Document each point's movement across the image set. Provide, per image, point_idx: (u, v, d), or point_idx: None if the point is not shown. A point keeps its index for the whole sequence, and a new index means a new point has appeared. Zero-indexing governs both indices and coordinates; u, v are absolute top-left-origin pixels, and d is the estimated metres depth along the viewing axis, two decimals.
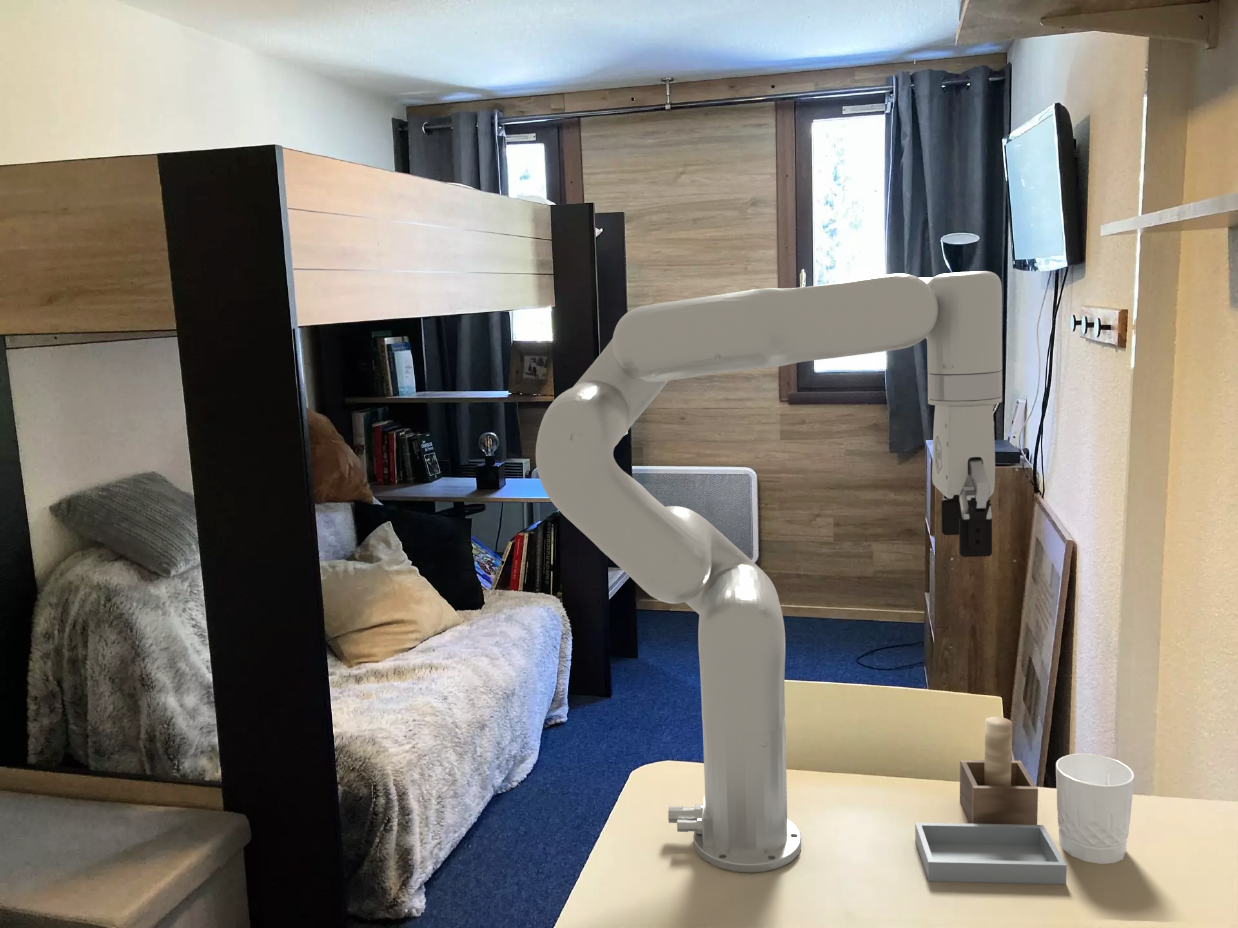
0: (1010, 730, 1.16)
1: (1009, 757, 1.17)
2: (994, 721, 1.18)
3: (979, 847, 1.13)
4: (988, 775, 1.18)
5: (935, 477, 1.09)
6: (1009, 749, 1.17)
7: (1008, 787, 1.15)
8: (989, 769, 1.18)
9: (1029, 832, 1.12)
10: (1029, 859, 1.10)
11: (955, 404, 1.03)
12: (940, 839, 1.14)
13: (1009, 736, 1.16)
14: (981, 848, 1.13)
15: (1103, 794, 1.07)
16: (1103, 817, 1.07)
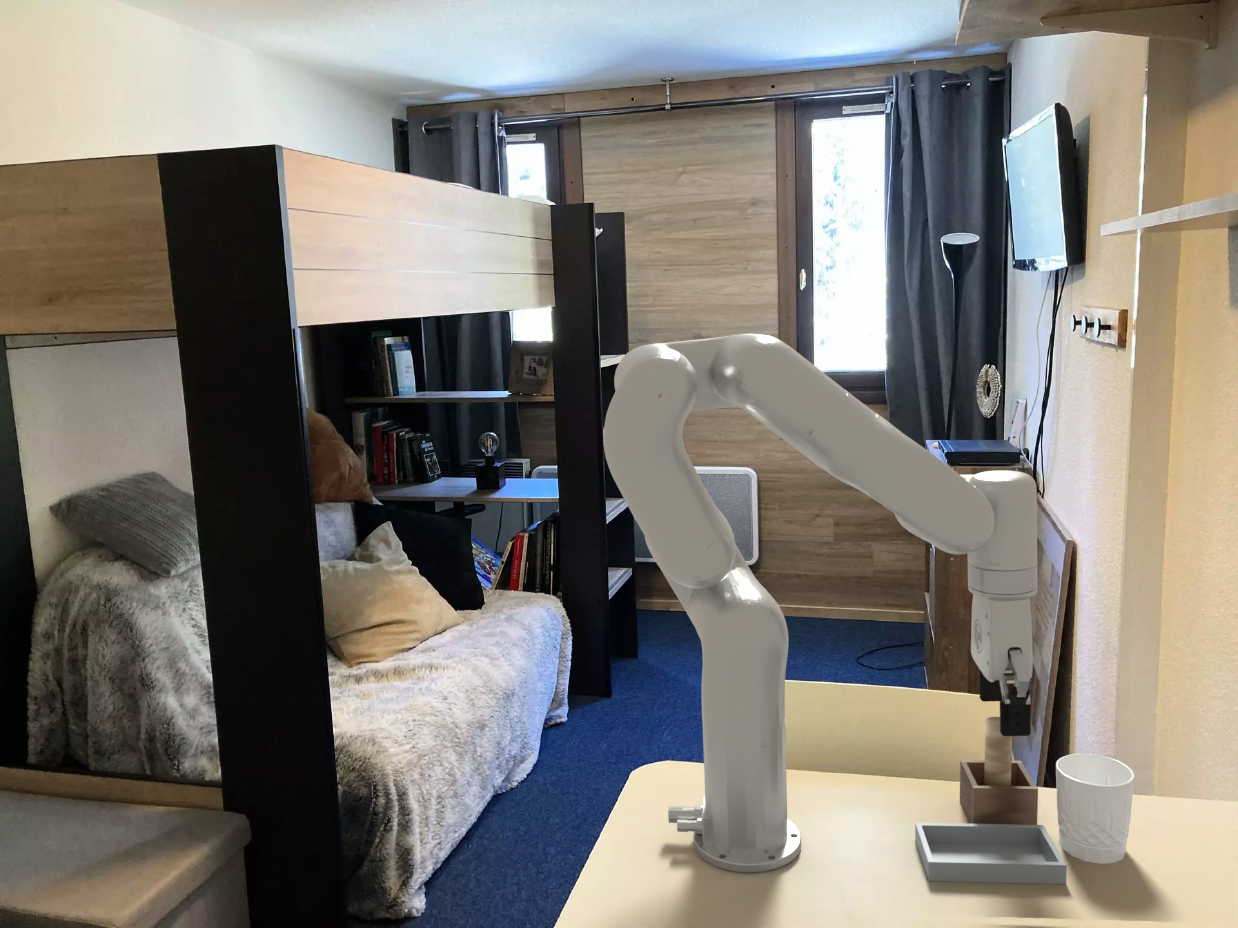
0: None
1: (1009, 757, 1.17)
2: (994, 721, 1.18)
3: (979, 847, 1.13)
4: (988, 775, 1.18)
5: (975, 653, 1.18)
6: (1009, 749, 1.17)
7: (1008, 787, 1.15)
8: (989, 769, 1.18)
9: (1029, 832, 1.12)
10: (1029, 859, 1.10)
11: (995, 597, 1.12)
12: (940, 839, 1.14)
13: (1009, 736, 1.16)
14: (981, 848, 1.13)
15: (1103, 794, 1.07)
16: (1103, 817, 1.07)
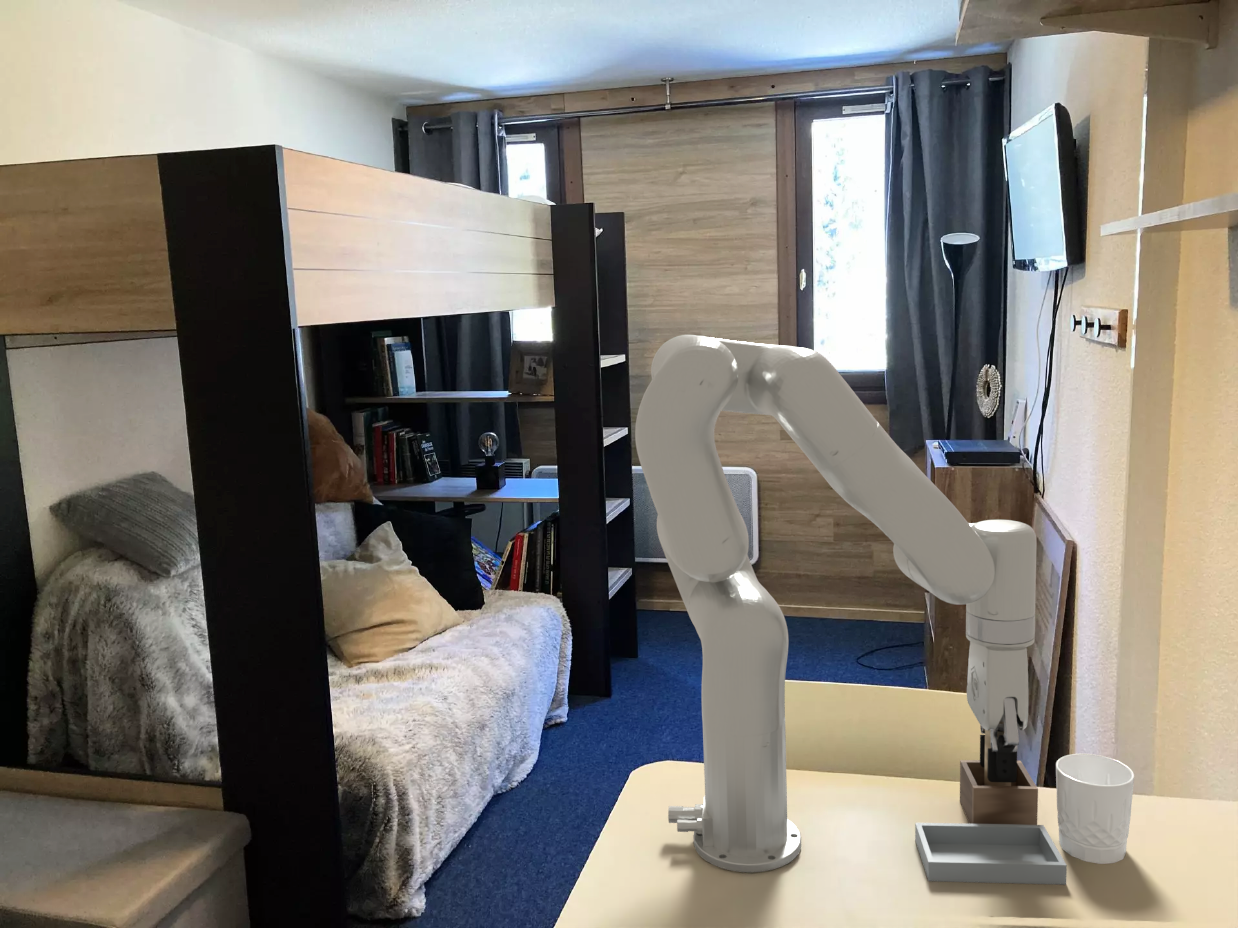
0: None
1: None
2: None
3: (979, 847, 1.13)
4: None
5: (970, 700, 1.19)
6: None
7: (1008, 787, 1.15)
8: None
9: (1029, 832, 1.12)
10: (1029, 859, 1.10)
11: (992, 646, 1.13)
12: (940, 839, 1.14)
13: None
14: (981, 848, 1.13)
15: (1103, 794, 1.07)
16: (1103, 817, 1.07)
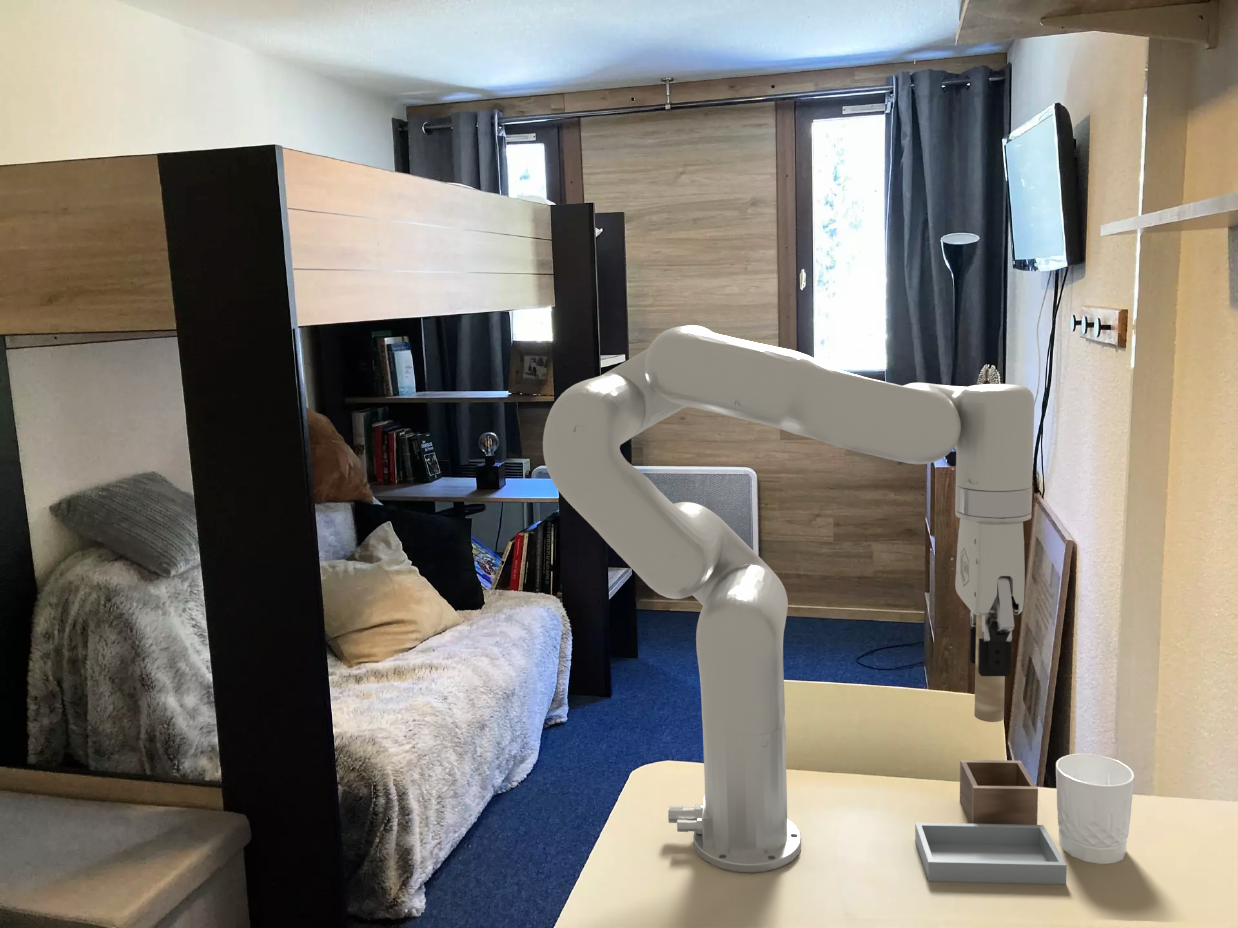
0: None
1: None
2: None
3: (979, 847, 1.13)
4: None
5: (960, 587, 1.08)
6: None
7: (1008, 787, 1.15)
8: None
9: (1029, 832, 1.12)
10: (1029, 859, 1.10)
11: (985, 520, 1.01)
12: (940, 839, 1.14)
13: None
14: (981, 848, 1.13)
15: (1103, 794, 1.07)
16: (1103, 817, 1.07)
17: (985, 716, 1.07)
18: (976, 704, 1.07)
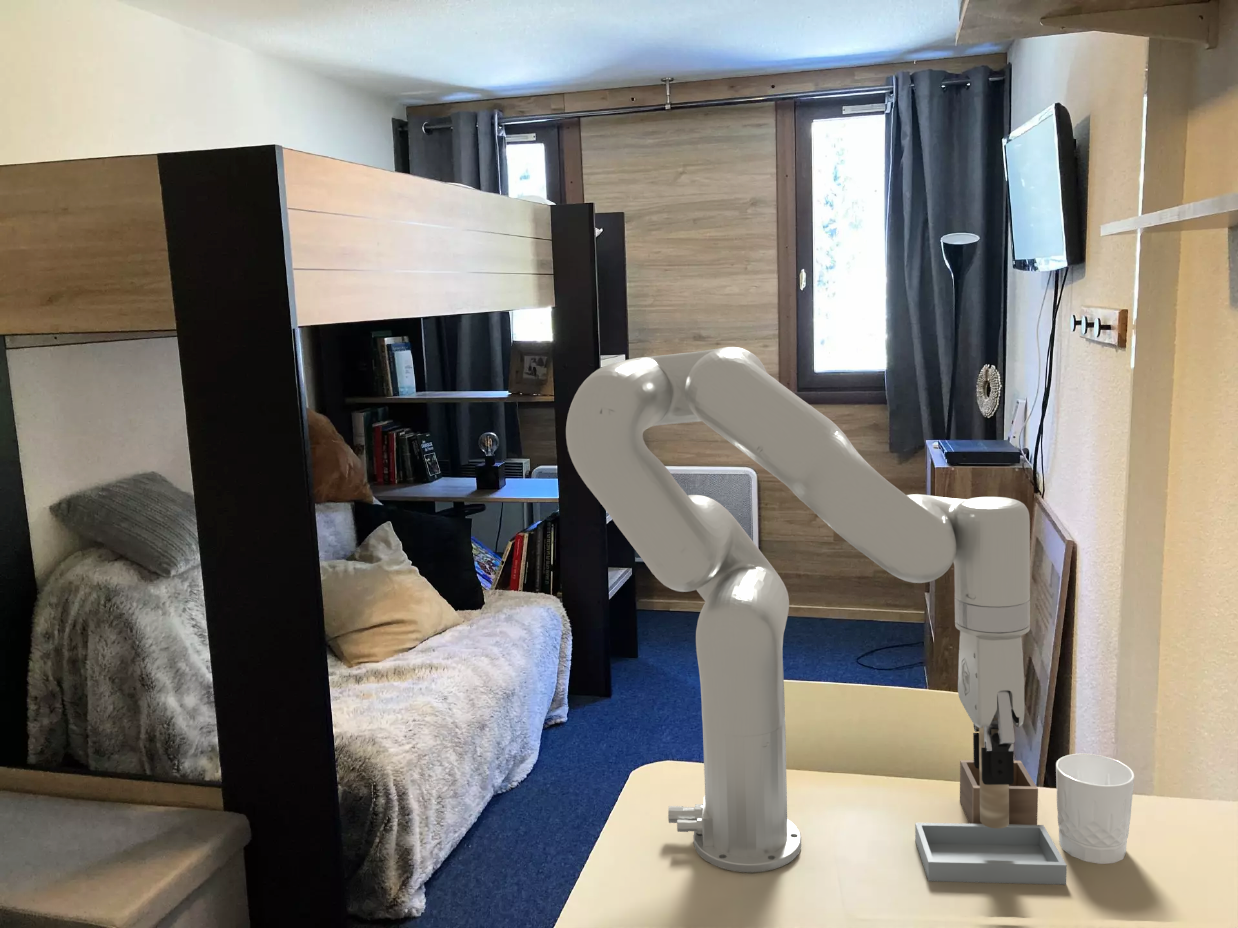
0: None
1: None
2: None
3: (979, 847, 1.13)
4: None
5: (962, 695, 1.09)
6: None
7: None
8: None
9: (1029, 832, 1.12)
10: (1029, 859, 1.10)
11: (984, 635, 1.02)
12: (940, 839, 1.14)
13: None
14: (981, 848, 1.13)
15: (1103, 794, 1.07)
16: (1103, 817, 1.07)
17: (990, 822, 1.08)
18: (981, 810, 1.09)
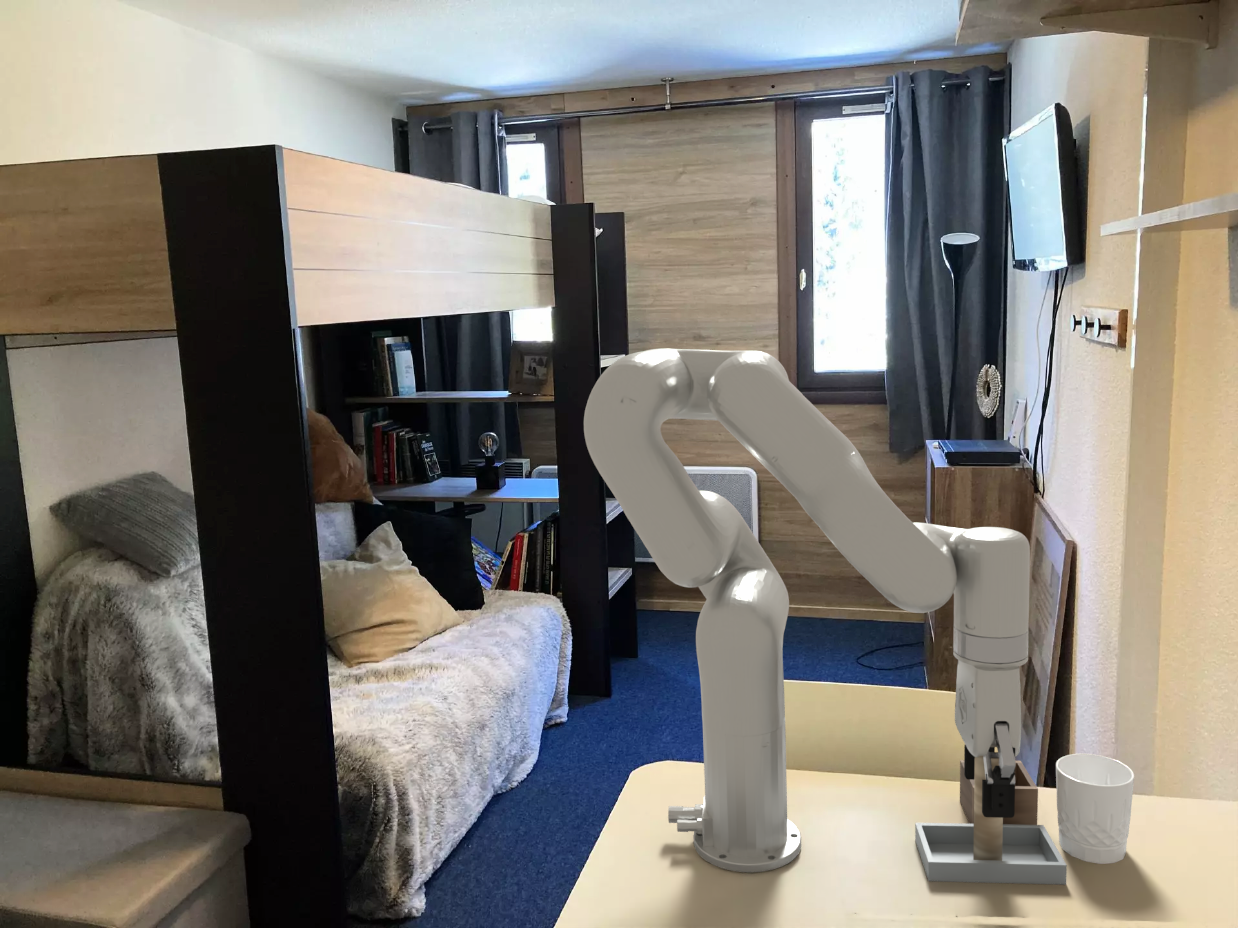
0: None
1: None
2: None
3: None
4: (978, 817, 1.08)
5: (959, 722, 1.10)
6: None
7: None
8: (979, 811, 1.08)
9: (1029, 832, 1.12)
10: (1029, 859, 1.10)
11: (982, 665, 1.03)
12: (940, 839, 1.14)
13: None
14: None
15: (1103, 794, 1.07)
16: (1103, 817, 1.07)
17: None
18: (975, 849, 1.10)
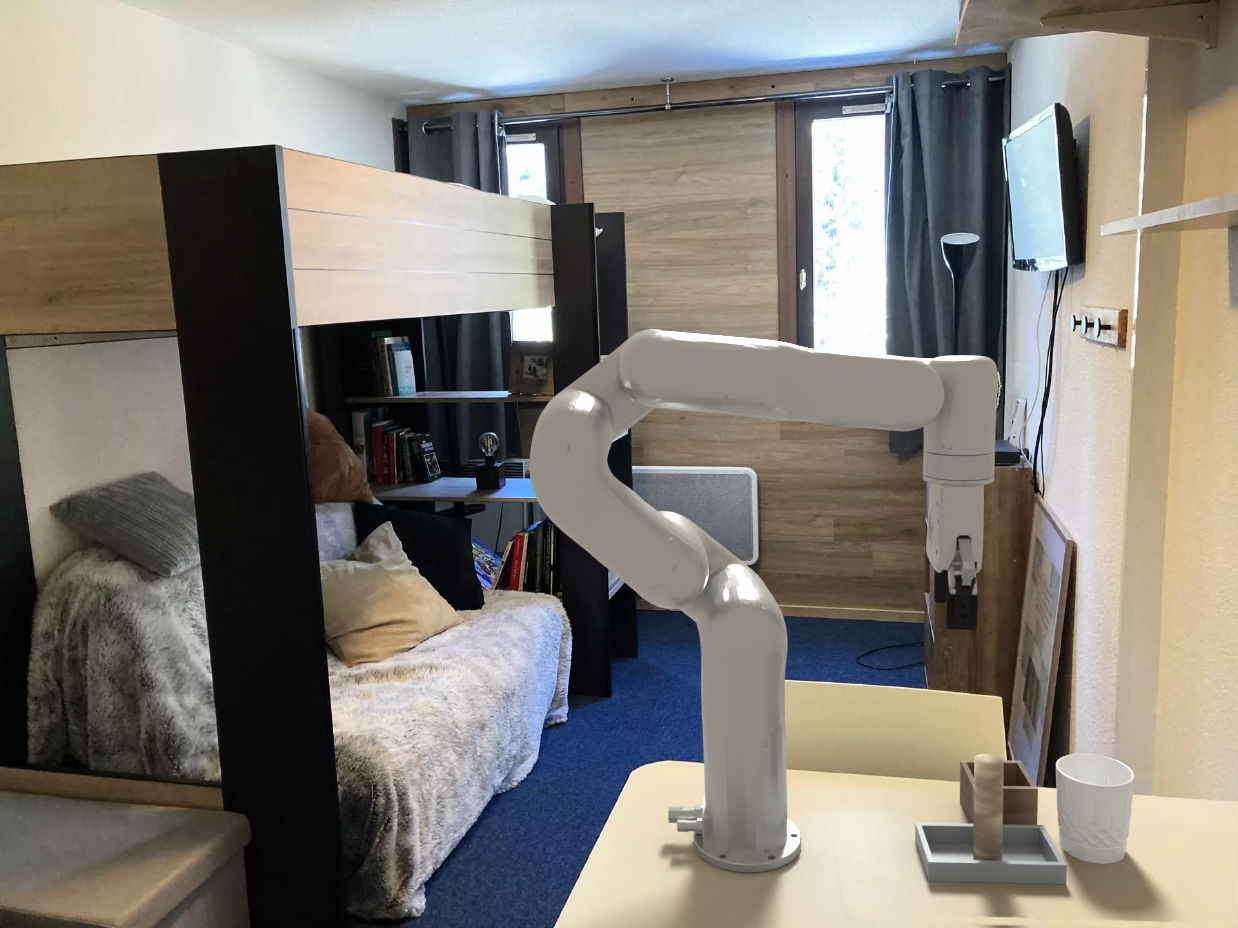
0: (1001, 769, 1.07)
1: (1000, 798, 1.08)
2: (984, 759, 1.08)
3: None
4: (978, 817, 1.09)
5: (928, 548, 1.14)
6: (1000, 789, 1.07)
7: (1008, 787, 1.15)
8: (979, 810, 1.08)
9: (1029, 832, 1.12)
10: (1029, 859, 1.10)
11: (947, 483, 1.07)
12: (940, 839, 1.14)
13: (1000, 775, 1.07)
14: None
15: (1103, 794, 1.07)
16: (1103, 817, 1.07)
17: None
18: (975, 849, 1.10)
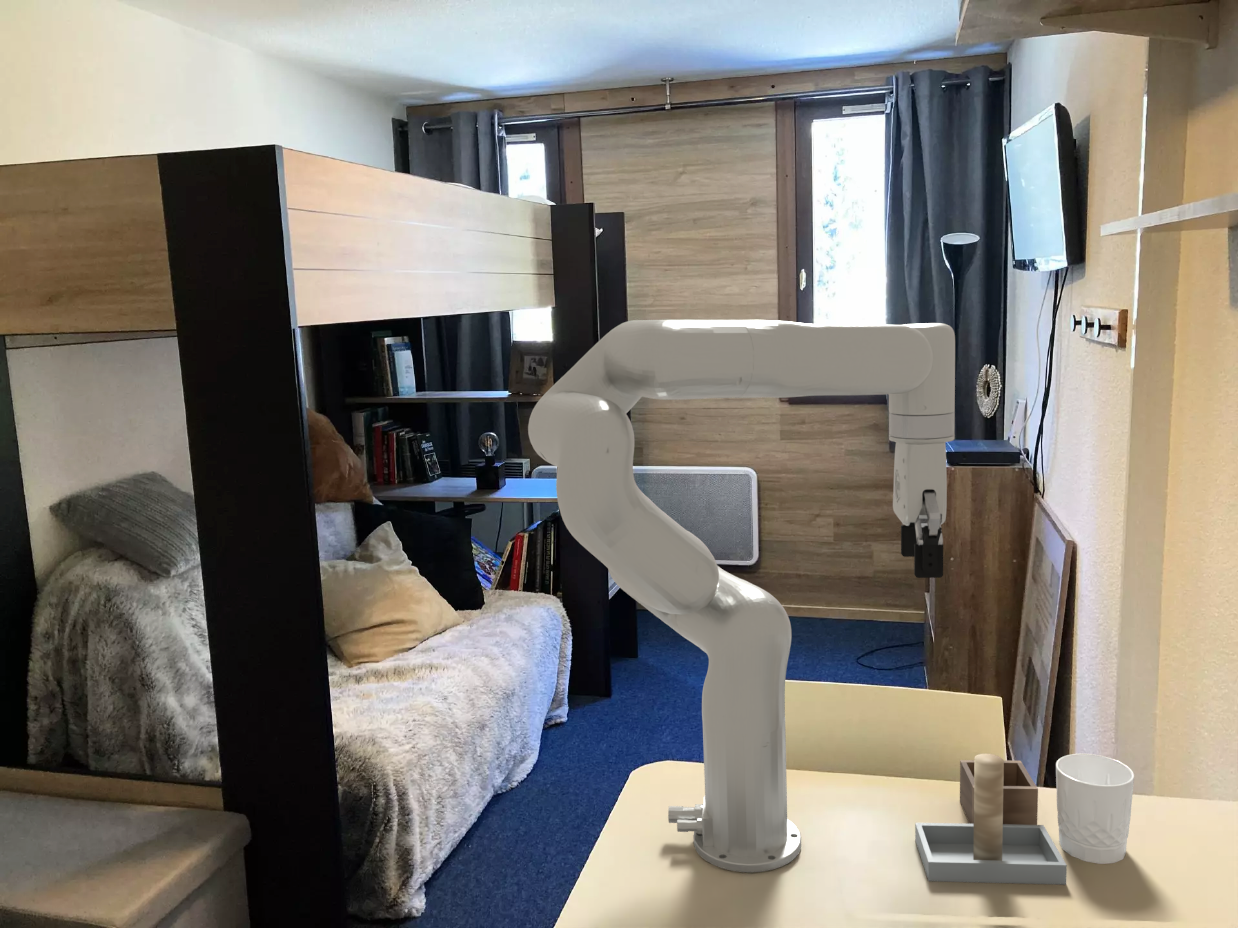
0: (1001, 769, 1.07)
1: (1000, 798, 1.08)
2: (984, 759, 1.08)
3: None
4: (978, 817, 1.09)
5: (895, 505, 1.22)
6: (1000, 789, 1.07)
7: (1008, 787, 1.15)
8: (979, 810, 1.08)
9: (1029, 832, 1.12)
10: (1029, 859, 1.10)
11: (912, 441, 1.15)
12: (940, 839, 1.14)
13: (1000, 775, 1.07)
14: None
15: (1103, 794, 1.07)
16: (1103, 817, 1.07)
17: None
18: (975, 849, 1.10)
